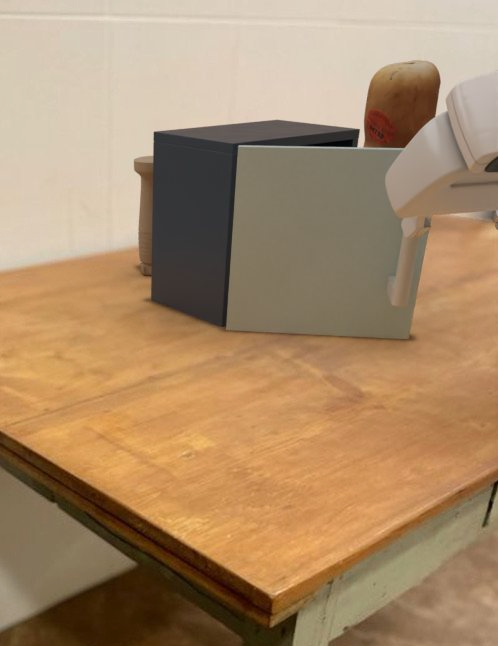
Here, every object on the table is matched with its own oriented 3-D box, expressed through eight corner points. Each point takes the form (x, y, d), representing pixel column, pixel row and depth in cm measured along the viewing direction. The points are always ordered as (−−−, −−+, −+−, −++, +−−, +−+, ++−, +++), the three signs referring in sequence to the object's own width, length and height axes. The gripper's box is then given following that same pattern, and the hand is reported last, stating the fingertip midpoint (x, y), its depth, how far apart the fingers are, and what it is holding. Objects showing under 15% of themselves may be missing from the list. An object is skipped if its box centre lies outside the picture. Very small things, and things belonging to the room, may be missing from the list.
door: (414, 363, 85) (455, 158, 74) (222, 353, 88) (235, 154, 77) (406, 341, 90) (442, 148, 80) (226, 332, 93) (238, 145, 83)
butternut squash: (327, 222, 144) (347, 60, 130) (375, 212, 151) (399, 57, 137) (392, 236, 134) (421, 63, 121) (440, 225, 141) (473, 60, 128)
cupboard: (336, 301, 104) (360, 129, 93) (221, 333, 93) (233, 143, 83) (263, 279, 113) (277, 119, 102) (150, 306, 102) (153, 131, 92)
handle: (175, 269, 117) (178, 156, 109) (160, 281, 112) (162, 163, 104) (144, 266, 119) (145, 154, 111) (127, 277, 114) (127, 161, 106)
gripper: (665, 74, 62) (541, 188, 76) (436, 82, 57) (346, 203, 71) (694, 145, 61) (563, 248, 74) (462, 160, 56) (365, 267, 69)
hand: (455, 226), depth 72 cm, fingers open, 8 cm apart
